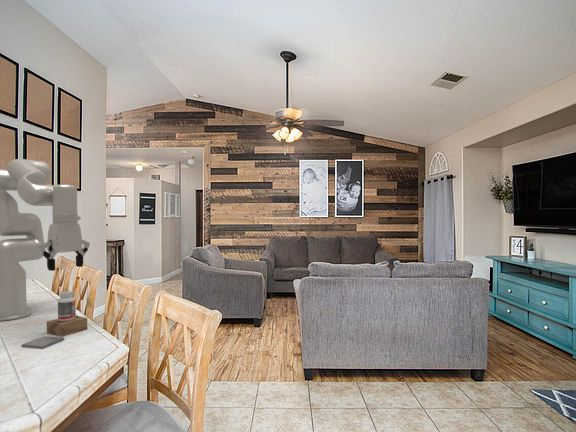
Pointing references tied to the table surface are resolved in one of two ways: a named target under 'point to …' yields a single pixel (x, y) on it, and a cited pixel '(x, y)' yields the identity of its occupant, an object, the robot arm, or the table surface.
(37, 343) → the slate coaster
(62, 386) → the table surface
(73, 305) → the pill bottle
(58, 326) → the walnut block
